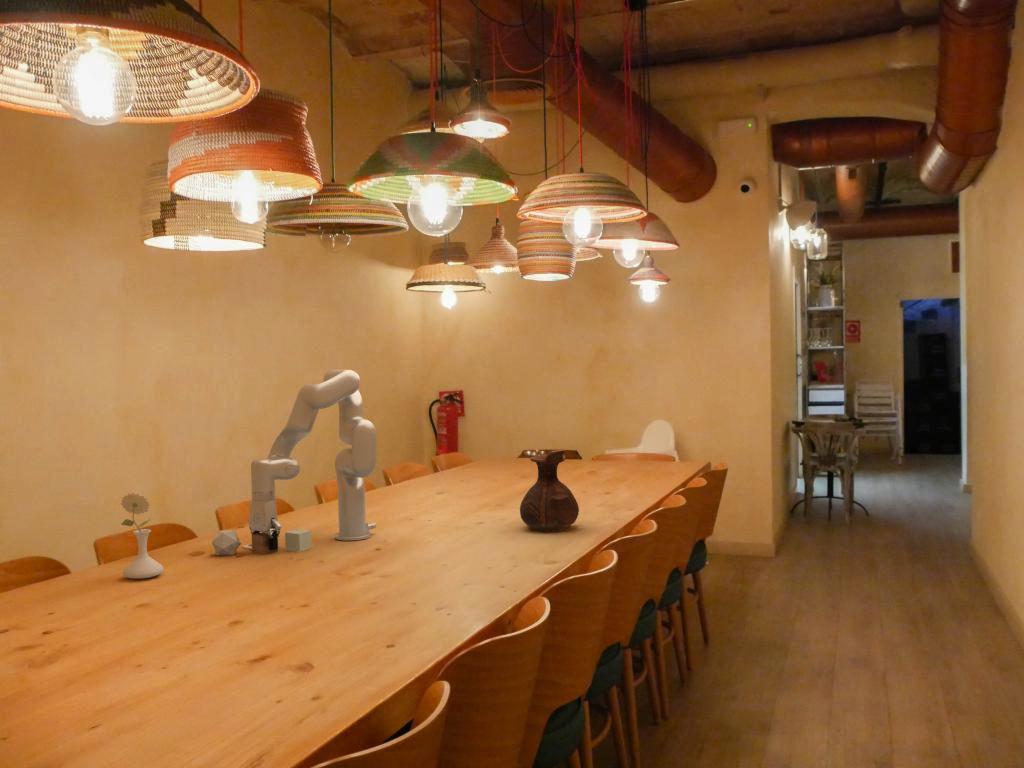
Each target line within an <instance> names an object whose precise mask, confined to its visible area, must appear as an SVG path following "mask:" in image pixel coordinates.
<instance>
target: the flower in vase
mask: <svg viewBox="0 0 1024 768" xmlns="http://www.w3.org/2000/svg"><path fill="white" fill-rule="evenodd" d="M121 499H122V500H121V502H120V505H122V508H123V509H125V511H126V512H128V513H130V514H132V517H131V519H132V520H131V519H124V521H123V522H122V523H121V525H122V526H126V527H132V526H134V525H135V526H136V528H137V529H136V530H133V531H132V533H133V534H134V536H135V537H136V539H137V546H138V553H137V556H136V558H135V559H134V560H132V561H131V563H129V564H127V566H126V567H125V568H124V569H123V571H122V576H124V577H125V578H128V579H134V580H137V579H138V580H139V579H141V580H143V579H149V578H153V577H156V576H159V575H160V574H162V573H163V572H164V570H165V569H164V566H163V565H162V564H161V563H160V562H158V561H157V560H155V559H153V558H152V557H150V556H149V554H148V549H147V548H148V547H147V546H148V545H147V544H148V538H149V535H150V533H151V532H152V529H149V528H148V529H147V528H145V529H142V528H141V529H140V527H142V526H144V525H146V524H148V523H149V522H150V520H151V518H149V519H147V520H145V521H143V522H141V524H139V525H138V524H137V523H136V521H135V519H134V517H135V515H142V514H144V513H147V512H149V508H150V502H149V501H148V499H147V498H146V497H145V496H144V495H140V494H139V493H136V494H135V493H134V492H132V493H128V494H126V495H123V497H121Z"/></svg>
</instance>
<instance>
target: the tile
mask: <svg viewBox="0 0 1024 768" xmlns="http://www.w3.org/2000/svg"><path fill="white" fill-rule="evenodd" d="M241 548H243V549H248V550H251V551H252V543H250V544H247V545H246V544H245V545H242V547H241Z"/></svg>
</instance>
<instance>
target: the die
mask: <svg viewBox="0 0 1024 768" xmlns="http://www.w3.org/2000/svg"><path fill="white" fill-rule="evenodd" d="M211 544H212V546H213V548H214V550H215V553H216V555H217V556H234V555H235V553H236V552H237V550H238V548H239V547H240V546H241V544H242V542H241V541H240V539H239V536H238V534H237V532H236V530H235V529H233V530H232V529H230V530H227V529H225V530H219V531H218V532H217V534H216V535H215V536H214V537H213V539H212V541H211Z"/></svg>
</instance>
